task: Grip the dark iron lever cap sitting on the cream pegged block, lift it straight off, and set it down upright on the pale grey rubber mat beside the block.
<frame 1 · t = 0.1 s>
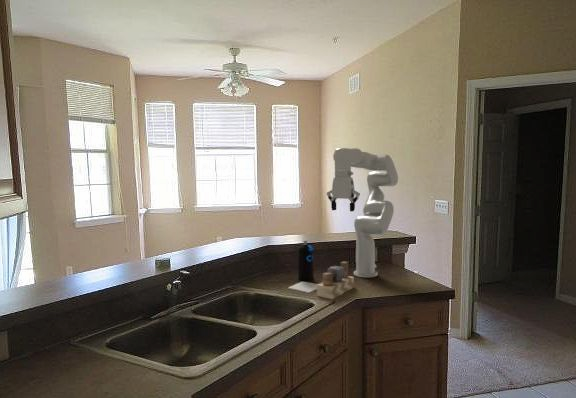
hand: (342, 210, 180), 37 cm above the worktop, tool pointing down, fingers open, 9 cm apart
cream pegged block: (336, 291, 175), on the worktop
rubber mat: (305, 287, 182), on the worktop
aerosol can: (305, 279, 196), on the worktop
lever cap: (335, 278, 175), point 6 cm above the worktop, touching cream pegged block
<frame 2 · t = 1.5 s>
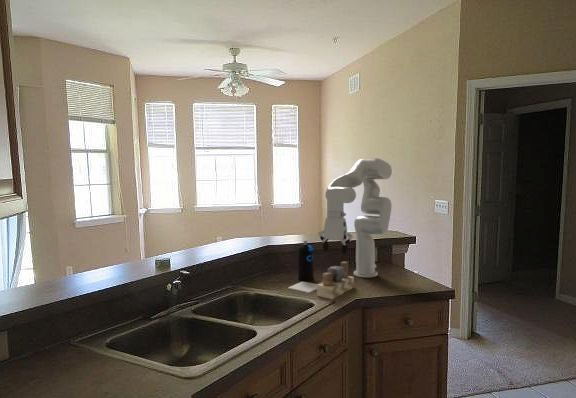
hand: (335, 252, 173), 18 cm above the worktop, tool pointing down, fingers open, 9 cm apart
nothing on the worktop moved.
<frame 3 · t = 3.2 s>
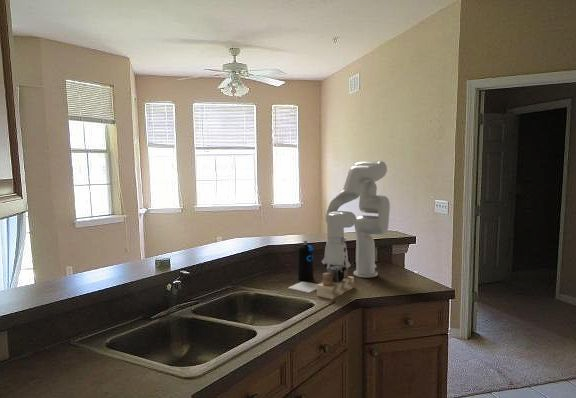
hand: (335, 278, 175), 6 cm above the worktop, tool pointing down, fingers closed on lever cap, 5 cm apart
lever cap: (335, 278, 175), point 6 cm above the worktop, touching gripper, cream pegged block
everything else where it was.
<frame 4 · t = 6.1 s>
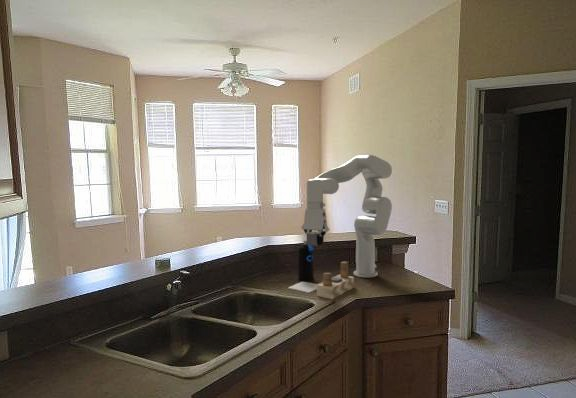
hand: (315, 243, 178), 22 cm above the worktop, tool pointing down, fingers closed on lever cap, 5 cm apart
lever cap: (315, 243, 178), point 22 cm above the worktop, touching gripper
everything else where it was.
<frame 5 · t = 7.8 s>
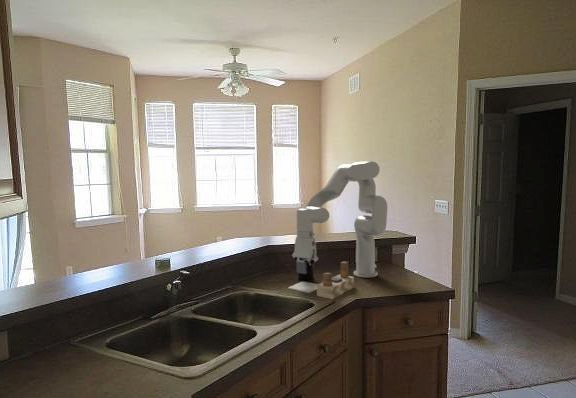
hand: (305, 271, 181), 8 cm above the worktop, tool pointing down, fingers closed on lever cap, 5 cm apart
lever cap: (305, 271, 181), point 8 cm above the worktop, touching gripper
everything else where it was.
when the fingers open (2 cm above the worktop, at t = 9.3 s): lever cap drops 1 cm, resting on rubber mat.
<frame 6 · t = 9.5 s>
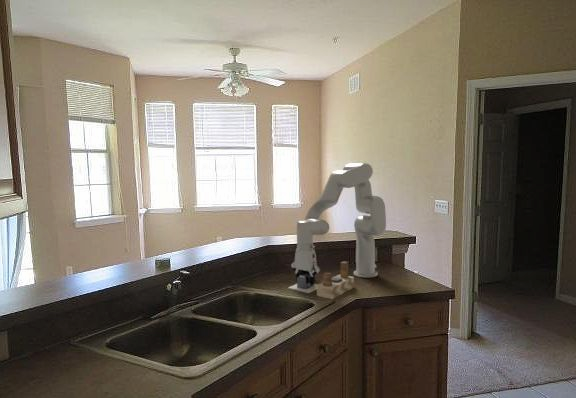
hand: (305, 282, 182), 2 cm above the worktop, tool pointing down, fingers open, 7 cm apart
lever cap: (305, 286, 182), resting on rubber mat
everything else where it was.
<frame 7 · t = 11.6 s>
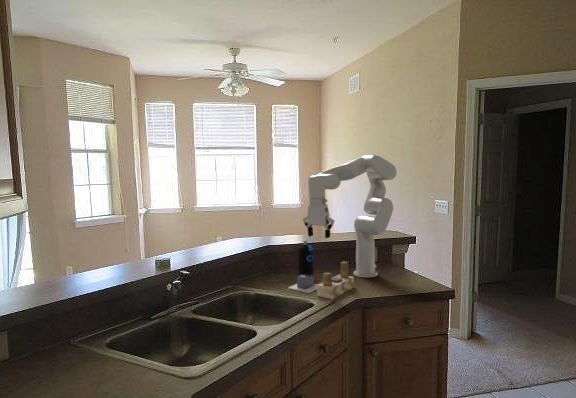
hand: (319, 236, 182), 24 cm above the worktop, tool pointing down, fingers open, 9 cm apart
nothing on the worktop moved.
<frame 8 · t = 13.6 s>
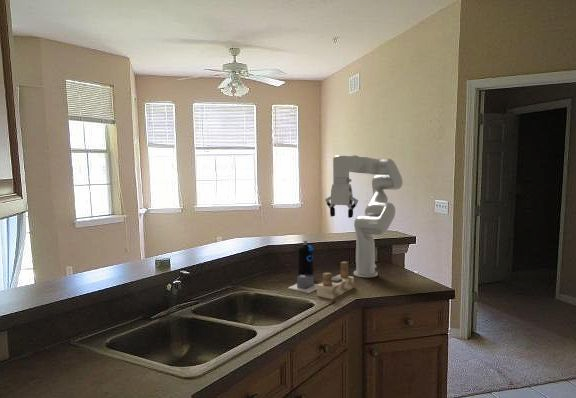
hand: (341, 216, 183), 33 cm above the worktop, tool pointing down, fingers open, 9 cm apart
nothing on the worktop moved.
at the end: lever cap inside the target area on the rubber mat (0.1 cm from its centre), point 0.5 cm above the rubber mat's base; lever cap tilted 0°; lever cap touching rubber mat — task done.
